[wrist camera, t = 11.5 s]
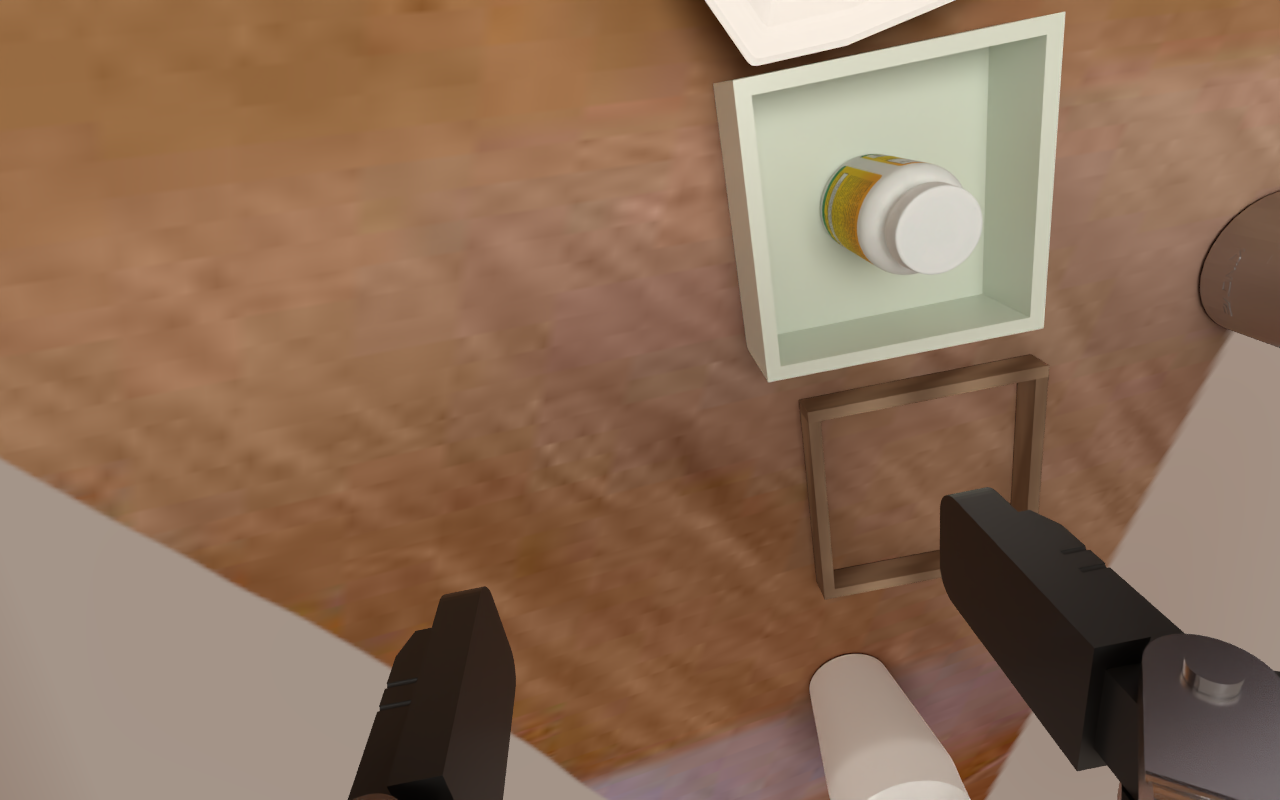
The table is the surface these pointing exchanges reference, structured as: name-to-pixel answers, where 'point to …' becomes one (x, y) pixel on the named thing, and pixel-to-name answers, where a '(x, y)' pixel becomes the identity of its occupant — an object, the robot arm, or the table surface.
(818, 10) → the bowl
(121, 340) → the table surface
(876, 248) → the supplement bottle
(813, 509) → the walnut frame
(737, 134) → the plastic bin
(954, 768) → the cup
